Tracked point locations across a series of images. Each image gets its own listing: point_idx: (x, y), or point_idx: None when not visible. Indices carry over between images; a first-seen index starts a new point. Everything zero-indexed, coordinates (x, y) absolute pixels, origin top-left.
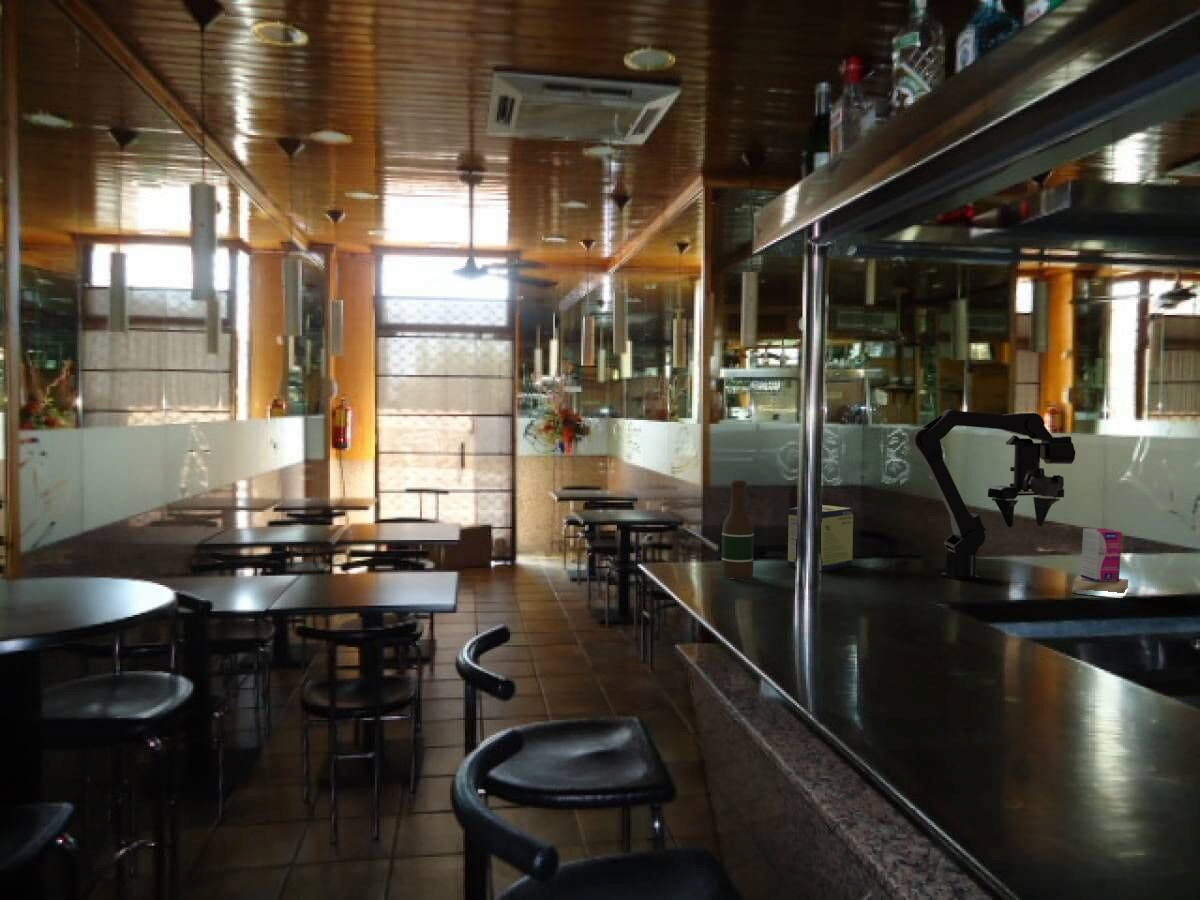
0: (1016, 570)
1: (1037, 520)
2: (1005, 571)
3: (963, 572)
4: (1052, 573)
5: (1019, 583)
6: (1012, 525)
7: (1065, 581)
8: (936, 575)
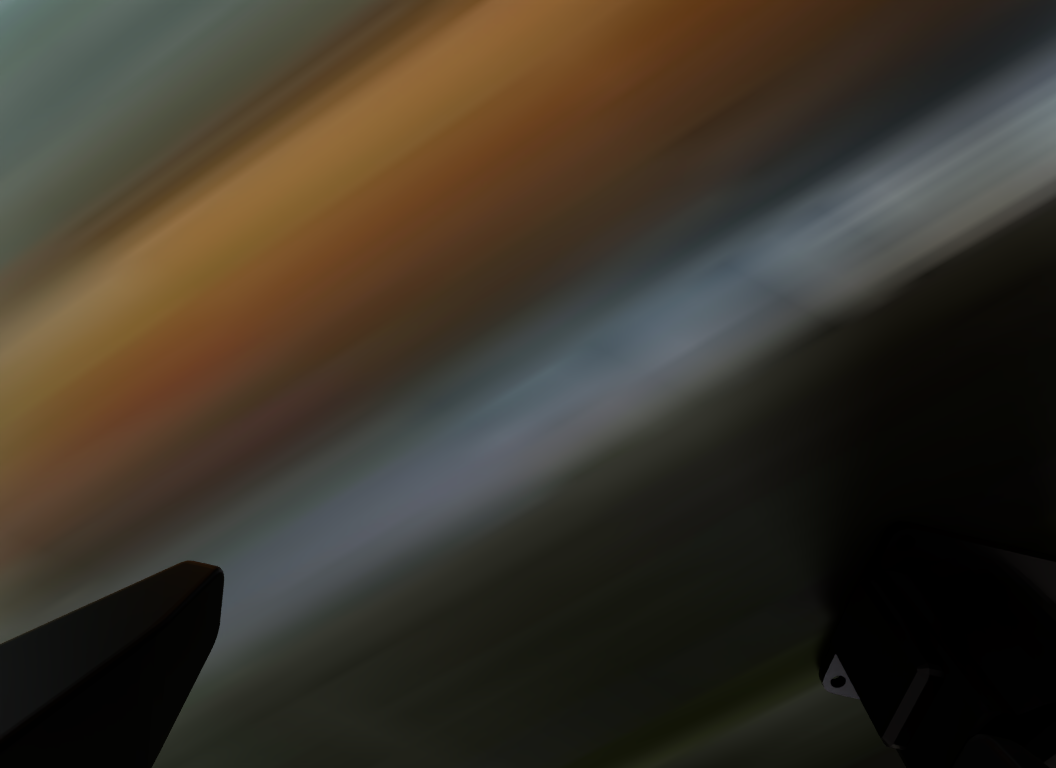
0: (291, 580)
1: (159, 731)
2: (407, 595)
3: (1049, 598)
4: (124, 375)
5: (804, 248)
6: (1006, 757)
7: (343, 90)
8: None
